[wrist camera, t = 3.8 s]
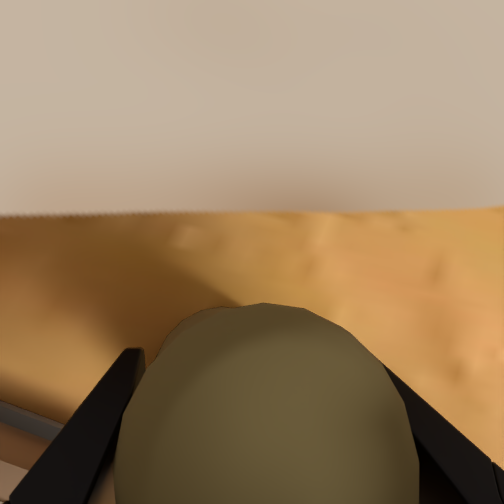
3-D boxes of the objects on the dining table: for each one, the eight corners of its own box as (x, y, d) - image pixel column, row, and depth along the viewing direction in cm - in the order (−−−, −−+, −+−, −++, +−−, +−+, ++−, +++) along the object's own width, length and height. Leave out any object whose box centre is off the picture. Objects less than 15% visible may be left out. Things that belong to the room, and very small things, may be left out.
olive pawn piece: (122, 397, 14) (-83, 610, 4) (207, 281, 16) (236, 192, 5) (239, 478, 14) (375, 916, 4) (311, 354, 16) (548, 413, 5)
